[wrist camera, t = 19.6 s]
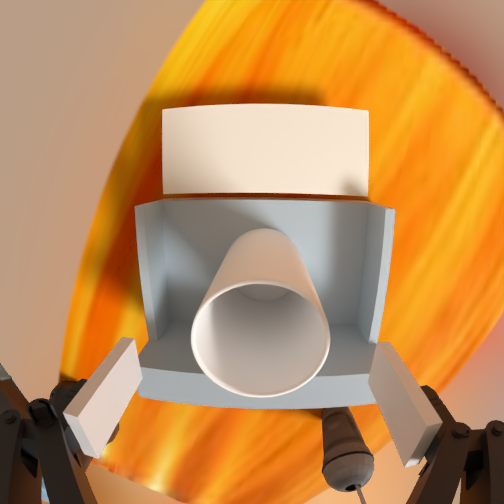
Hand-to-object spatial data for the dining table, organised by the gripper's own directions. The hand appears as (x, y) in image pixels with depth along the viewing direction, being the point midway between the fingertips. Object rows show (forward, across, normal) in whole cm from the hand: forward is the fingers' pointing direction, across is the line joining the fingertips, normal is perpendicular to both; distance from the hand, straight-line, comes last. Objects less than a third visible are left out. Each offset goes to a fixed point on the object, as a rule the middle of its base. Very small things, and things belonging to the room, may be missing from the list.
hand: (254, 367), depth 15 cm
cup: (+18, 0, 0) cm, 18 cm away
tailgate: (+17, +1, +8) cm, 19 cm away
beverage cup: (+22, +13, -26) cm, 36 cm away
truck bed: (+22, +1, -2) cm, 22 cm away
